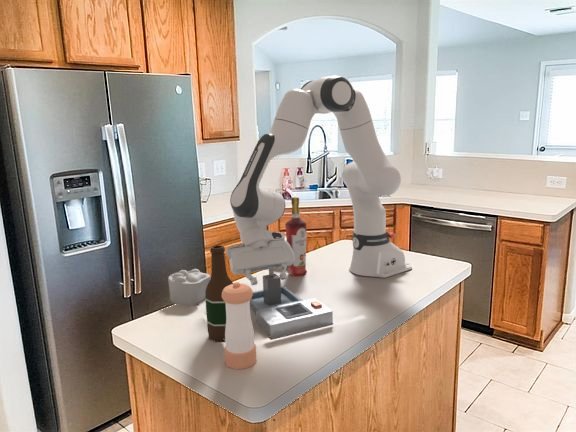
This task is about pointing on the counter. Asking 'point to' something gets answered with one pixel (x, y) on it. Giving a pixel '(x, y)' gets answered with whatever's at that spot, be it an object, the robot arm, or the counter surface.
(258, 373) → the counter surface
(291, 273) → the liquor
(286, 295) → the tray
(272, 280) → the plug
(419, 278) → the counter surface
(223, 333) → the beer bottle
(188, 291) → the lumpy-topped squat cylinder
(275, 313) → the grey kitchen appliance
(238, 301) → the pepper shaker
